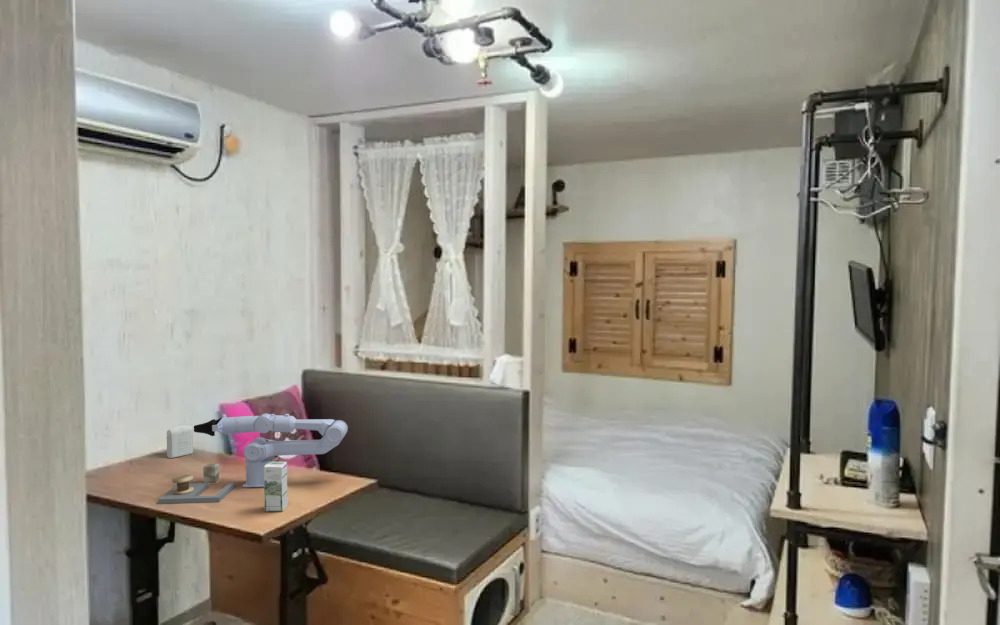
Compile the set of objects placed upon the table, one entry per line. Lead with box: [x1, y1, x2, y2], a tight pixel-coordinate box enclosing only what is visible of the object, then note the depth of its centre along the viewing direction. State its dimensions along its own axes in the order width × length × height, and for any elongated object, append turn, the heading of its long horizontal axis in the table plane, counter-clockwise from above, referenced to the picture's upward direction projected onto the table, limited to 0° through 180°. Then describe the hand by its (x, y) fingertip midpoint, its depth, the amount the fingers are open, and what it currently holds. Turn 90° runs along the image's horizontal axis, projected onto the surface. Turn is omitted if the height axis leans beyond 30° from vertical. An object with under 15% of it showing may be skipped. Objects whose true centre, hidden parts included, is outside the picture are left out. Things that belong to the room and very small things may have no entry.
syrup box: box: [263, 461, 289, 513], centre depth 204 cm, size 6×6×14 cm
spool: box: [171, 474, 194, 495], centre depth 216 cm, size 6×6×5 cm
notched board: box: [157, 481, 236, 505], centre depth 217 cm, size 19×16×2 cm
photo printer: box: [166, 424, 194, 459], centre depth 266 cm, size 10×4×12 cm, turn 147°
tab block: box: [202, 463, 220, 485], centre depth 231 cm, size 4×4×6 cm
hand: (198, 427), depth 226 cm, fingers open, 7 cm apart
